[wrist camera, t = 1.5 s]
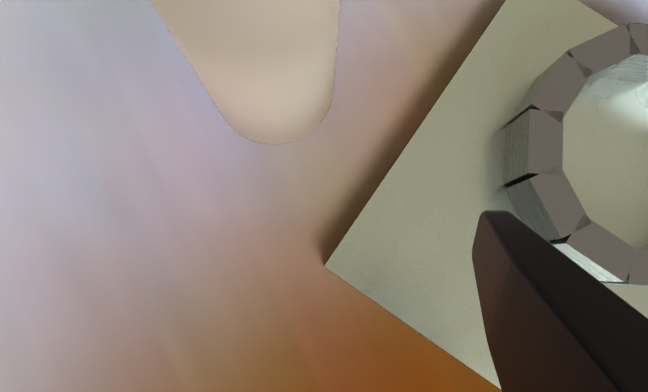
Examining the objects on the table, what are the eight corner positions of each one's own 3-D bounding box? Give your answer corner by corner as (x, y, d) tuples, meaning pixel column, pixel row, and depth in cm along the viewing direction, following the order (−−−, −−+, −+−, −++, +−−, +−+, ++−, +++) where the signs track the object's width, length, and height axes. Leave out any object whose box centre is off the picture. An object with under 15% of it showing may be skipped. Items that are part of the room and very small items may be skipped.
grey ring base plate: (623, 474, 21) (684, 515, 17) (323, 266, 22) (324, 265, 18) (802, 160, 22) (891, 140, 19) (518, -19, 23) (553, -69, 20)
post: (288, 167, 22) (247, 24, 9) (190, 101, 22) (19, -127, 10) (356, 72, 23) (405, -186, 10) (260, 9, 23) (187, -321, 10)
